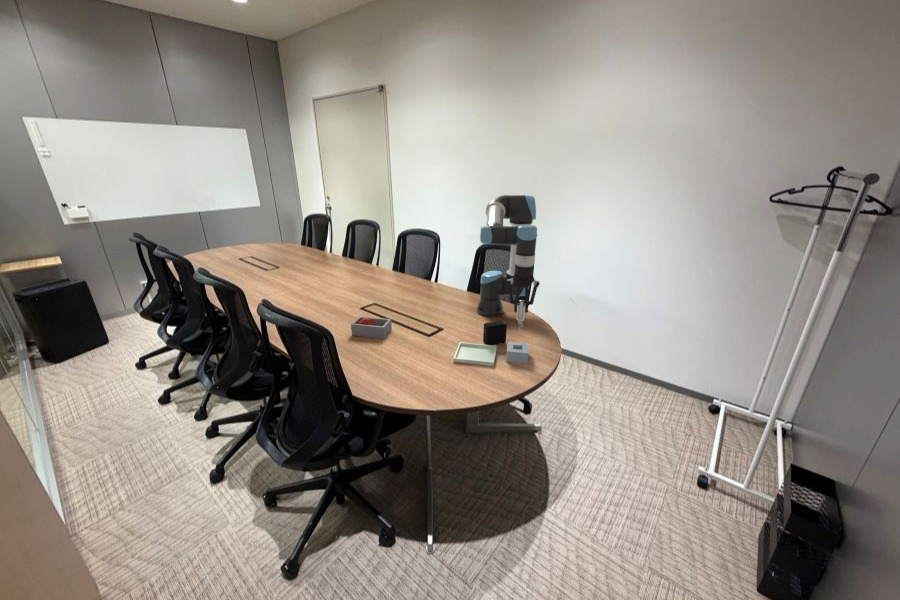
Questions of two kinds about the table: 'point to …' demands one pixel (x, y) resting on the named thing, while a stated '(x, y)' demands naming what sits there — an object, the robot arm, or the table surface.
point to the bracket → (365, 322)
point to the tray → (475, 354)
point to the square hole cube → (517, 352)
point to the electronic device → (494, 333)
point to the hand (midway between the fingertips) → (520, 318)
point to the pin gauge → (520, 314)
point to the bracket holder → (372, 327)
